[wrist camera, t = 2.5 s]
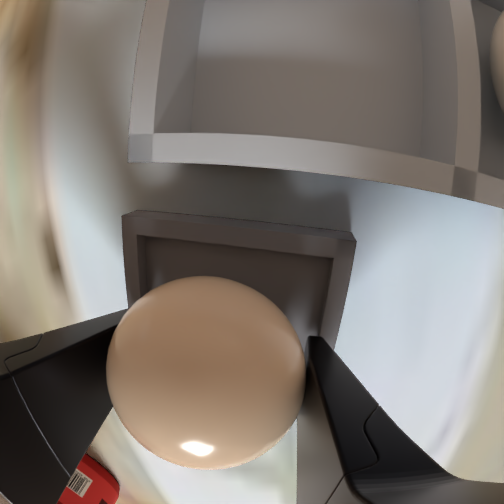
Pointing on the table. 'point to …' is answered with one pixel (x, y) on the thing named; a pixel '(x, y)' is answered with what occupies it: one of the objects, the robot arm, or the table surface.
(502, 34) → the white egg
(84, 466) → the canned food
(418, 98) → the egg tray
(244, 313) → the brown egg
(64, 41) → the table surface
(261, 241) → the egg dish
